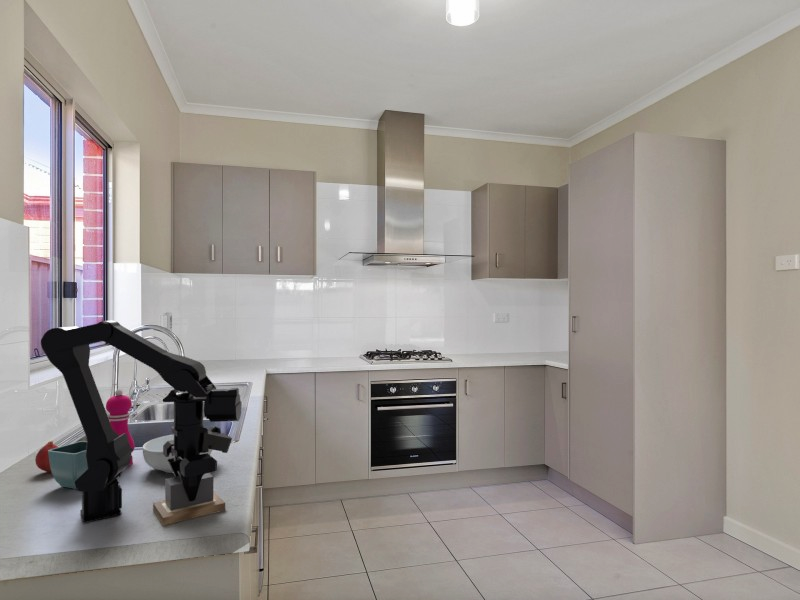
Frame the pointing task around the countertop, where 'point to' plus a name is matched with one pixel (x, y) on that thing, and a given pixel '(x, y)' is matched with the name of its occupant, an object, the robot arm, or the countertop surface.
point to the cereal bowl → (159, 453)
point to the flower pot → (68, 463)
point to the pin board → (187, 510)
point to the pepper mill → (120, 415)
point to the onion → (44, 457)
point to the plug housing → (178, 496)
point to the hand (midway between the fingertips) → (189, 497)
